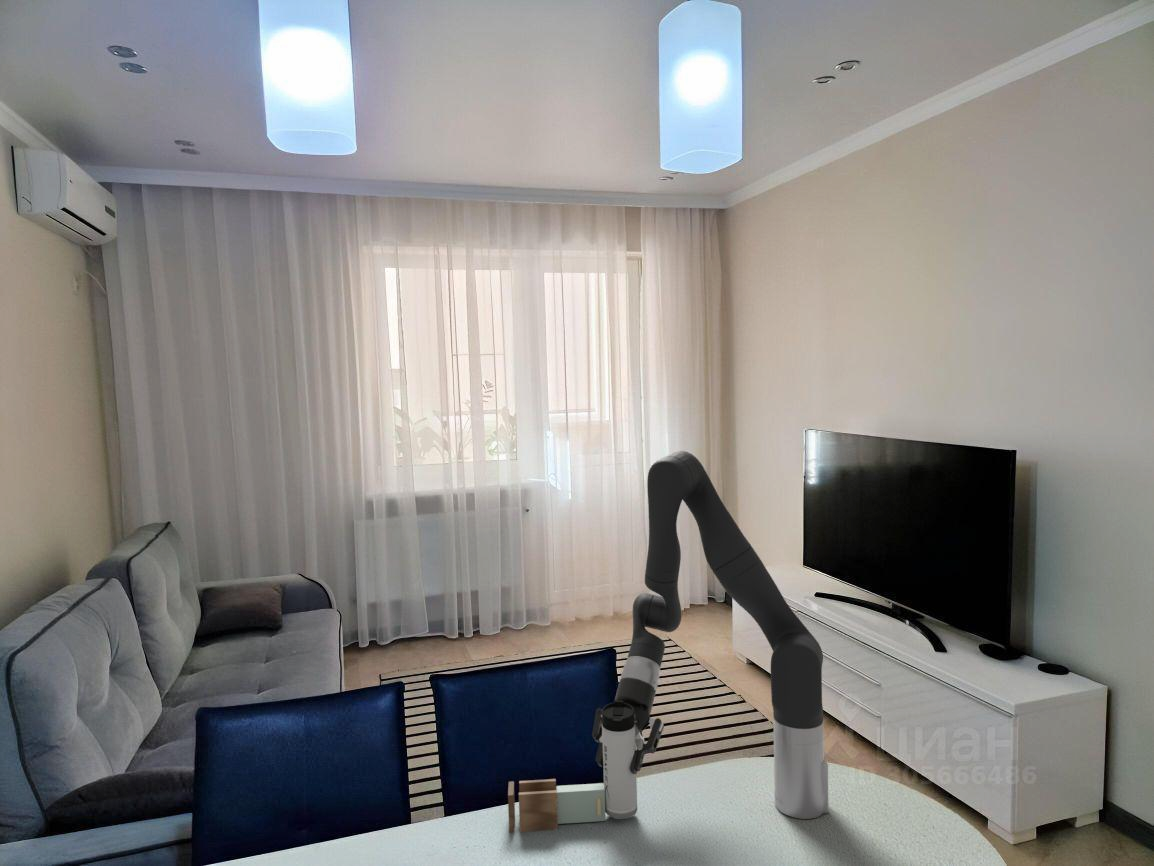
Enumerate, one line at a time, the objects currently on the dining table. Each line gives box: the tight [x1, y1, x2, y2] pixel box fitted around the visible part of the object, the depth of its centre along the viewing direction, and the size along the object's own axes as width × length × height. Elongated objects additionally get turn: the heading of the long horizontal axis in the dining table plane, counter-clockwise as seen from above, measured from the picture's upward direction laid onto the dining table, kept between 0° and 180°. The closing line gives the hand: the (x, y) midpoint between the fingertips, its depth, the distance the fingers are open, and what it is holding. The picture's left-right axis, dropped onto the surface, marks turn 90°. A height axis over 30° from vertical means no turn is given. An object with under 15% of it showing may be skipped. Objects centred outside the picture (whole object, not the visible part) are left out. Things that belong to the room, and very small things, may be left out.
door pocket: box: [507, 778, 559, 833], centre depth 138 cm, size 9×5×7 cm, turn 94°
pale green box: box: [556, 782, 606, 825], centre depth 139 cm, size 9×3×6 cm, turn 94°
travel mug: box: [601, 700, 638, 820], centre depth 139 cm, size 6×7×20 cm
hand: (616, 768), depth 138 cm, fingers closed on travel mug, 6 cm apart
